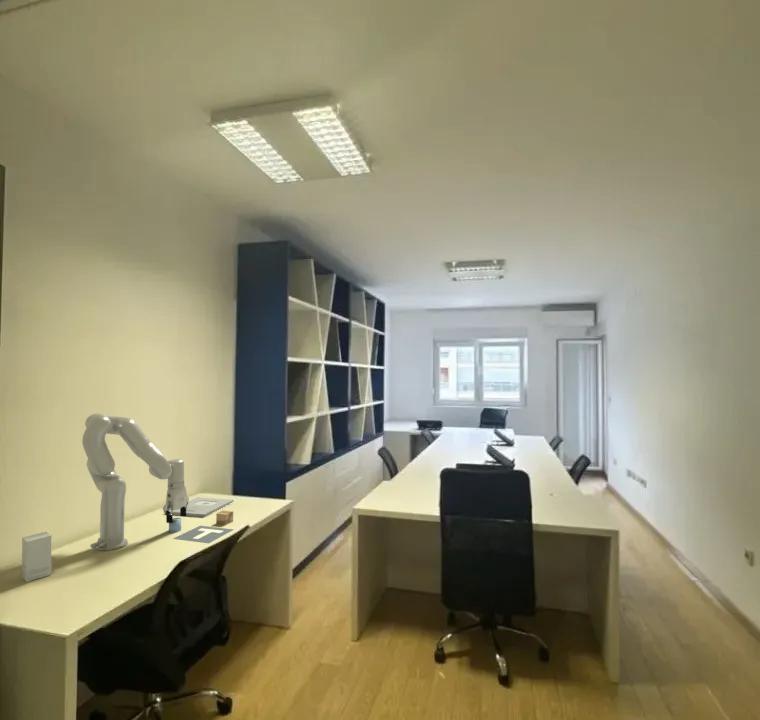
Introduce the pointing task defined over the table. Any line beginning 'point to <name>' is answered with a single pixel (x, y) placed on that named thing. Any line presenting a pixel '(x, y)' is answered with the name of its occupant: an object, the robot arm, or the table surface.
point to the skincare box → (36, 556)
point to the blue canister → (175, 525)
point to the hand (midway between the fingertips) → (176, 519)
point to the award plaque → (203, 506)
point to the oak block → (224, 517)
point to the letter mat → (203, 534)
